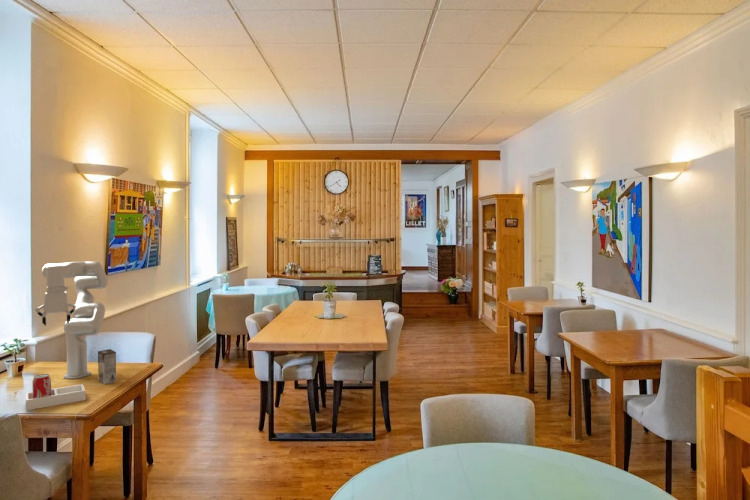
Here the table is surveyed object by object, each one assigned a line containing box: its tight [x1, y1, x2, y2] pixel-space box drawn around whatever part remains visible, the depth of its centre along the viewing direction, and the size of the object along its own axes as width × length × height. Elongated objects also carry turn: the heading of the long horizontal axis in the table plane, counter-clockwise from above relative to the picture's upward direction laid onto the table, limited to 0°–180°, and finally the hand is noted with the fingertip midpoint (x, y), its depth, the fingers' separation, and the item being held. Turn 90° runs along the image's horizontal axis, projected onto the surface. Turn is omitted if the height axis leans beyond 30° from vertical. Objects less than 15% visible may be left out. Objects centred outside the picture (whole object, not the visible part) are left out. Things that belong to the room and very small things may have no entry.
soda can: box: [32, 373, 52, 399], centre depth 228 cm, size 7×7×12 cm
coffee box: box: [97, 348, 117, 385], centre depth 261 cm, size 9×6×16 cm
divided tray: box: [25, 383, 87, 411], centre depth 231 cm, size 12×23×4 cm, turn 126°
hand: (56, 323), depth 247 cm, fingers open, 9 cm apart
